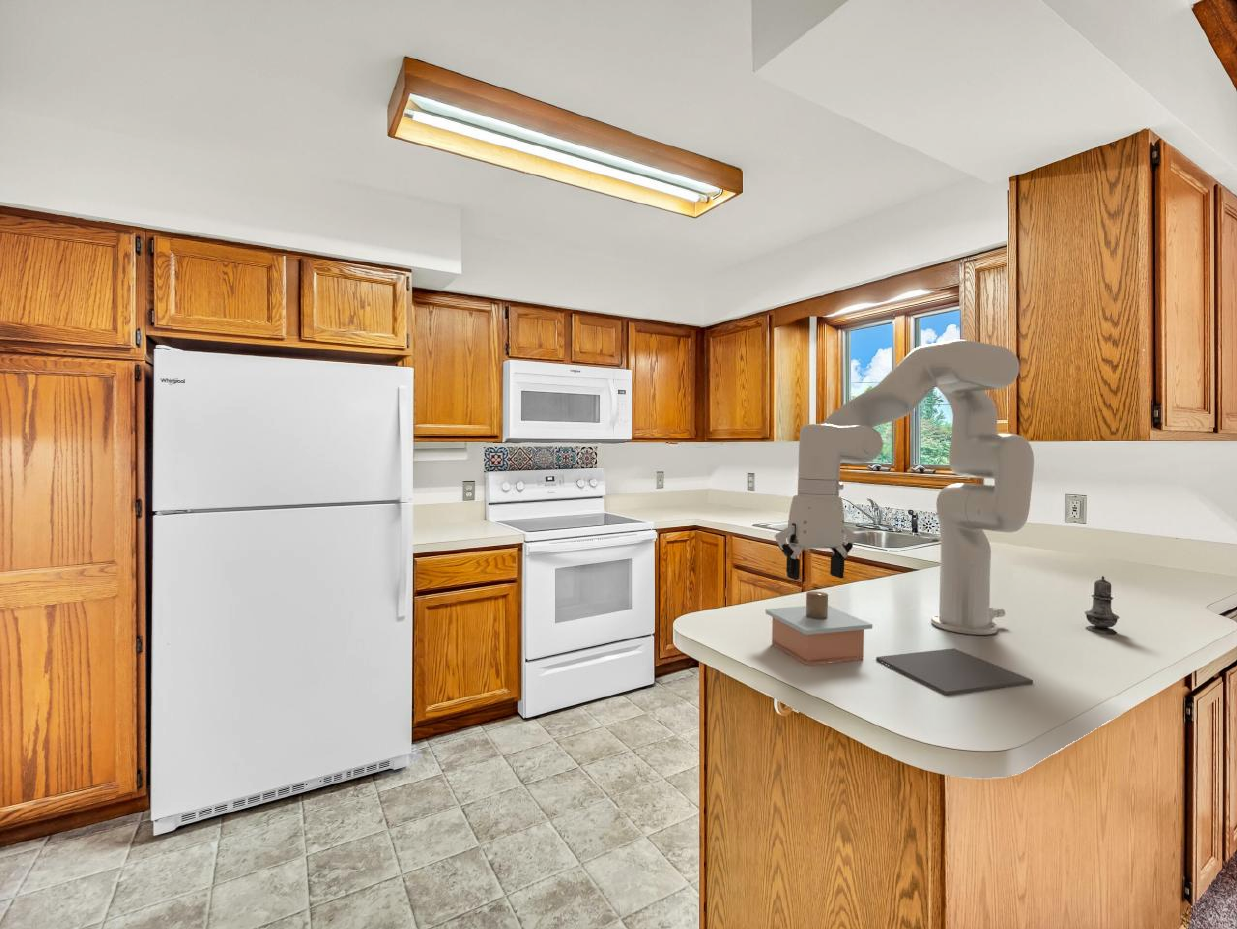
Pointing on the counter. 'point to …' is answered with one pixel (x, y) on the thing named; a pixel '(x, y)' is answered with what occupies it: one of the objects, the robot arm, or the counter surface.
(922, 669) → the mat
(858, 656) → the open storage tray
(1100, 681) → the counter surface
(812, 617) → the lid
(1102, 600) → the salt shaker
